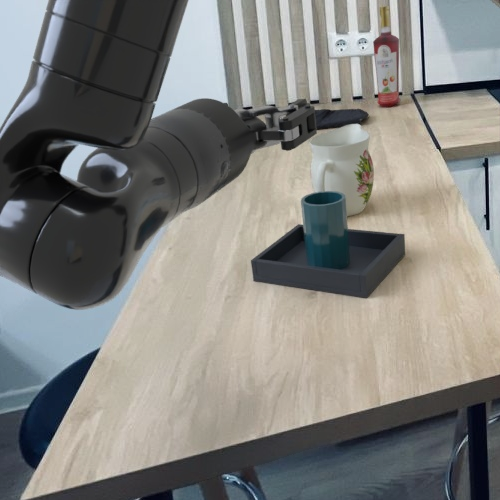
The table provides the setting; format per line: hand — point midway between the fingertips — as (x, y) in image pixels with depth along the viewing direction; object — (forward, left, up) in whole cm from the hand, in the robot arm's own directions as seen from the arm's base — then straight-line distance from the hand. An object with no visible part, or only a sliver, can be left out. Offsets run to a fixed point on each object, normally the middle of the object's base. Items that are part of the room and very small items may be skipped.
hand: (264, 111), depth 66 cm
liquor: (+39, -132, -28) cm, 141 cm away
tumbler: (+6, -22, -27) cm, 35 cm away
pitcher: (+14, -44, -28) cm, 54 cm away
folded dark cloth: (+48, -109, -28) cm, 122 cm away
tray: (+6, -22, -28) cm, 36 cm away
